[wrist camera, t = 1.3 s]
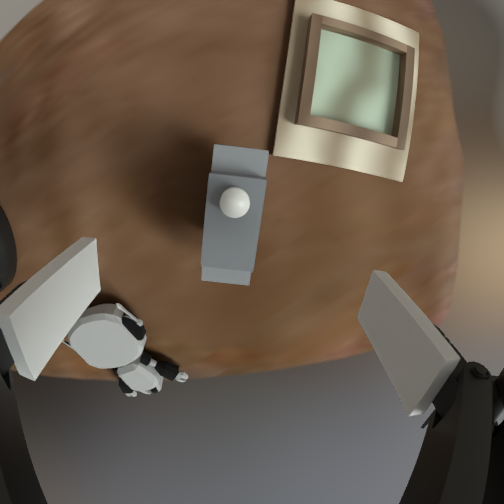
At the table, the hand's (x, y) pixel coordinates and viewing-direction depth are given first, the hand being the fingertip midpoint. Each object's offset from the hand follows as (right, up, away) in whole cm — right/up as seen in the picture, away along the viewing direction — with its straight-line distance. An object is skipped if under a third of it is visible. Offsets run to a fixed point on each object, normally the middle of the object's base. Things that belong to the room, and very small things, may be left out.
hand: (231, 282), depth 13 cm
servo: (-1, +6, +15) cm, 17 cm away
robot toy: (-16, -11, +22) cm, 29 cm away
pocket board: (+11, +18, +11) cm, 24 cm away
